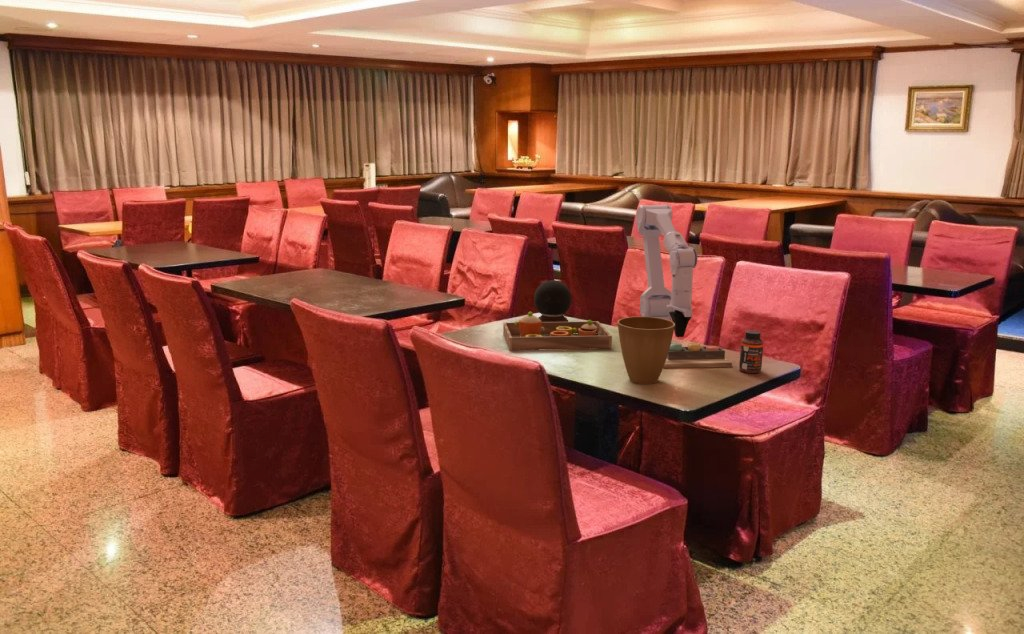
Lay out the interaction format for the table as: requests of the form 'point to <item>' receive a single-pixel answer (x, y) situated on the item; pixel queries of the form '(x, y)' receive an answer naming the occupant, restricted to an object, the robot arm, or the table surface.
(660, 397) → the table surface
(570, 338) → the tea set tray rim
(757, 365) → the supplement bottle
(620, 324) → the plant pot
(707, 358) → the button board
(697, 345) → the ochre button
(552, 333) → the toy tea set
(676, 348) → the teal button
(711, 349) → the brick button
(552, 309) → the dark fuzzy ball
